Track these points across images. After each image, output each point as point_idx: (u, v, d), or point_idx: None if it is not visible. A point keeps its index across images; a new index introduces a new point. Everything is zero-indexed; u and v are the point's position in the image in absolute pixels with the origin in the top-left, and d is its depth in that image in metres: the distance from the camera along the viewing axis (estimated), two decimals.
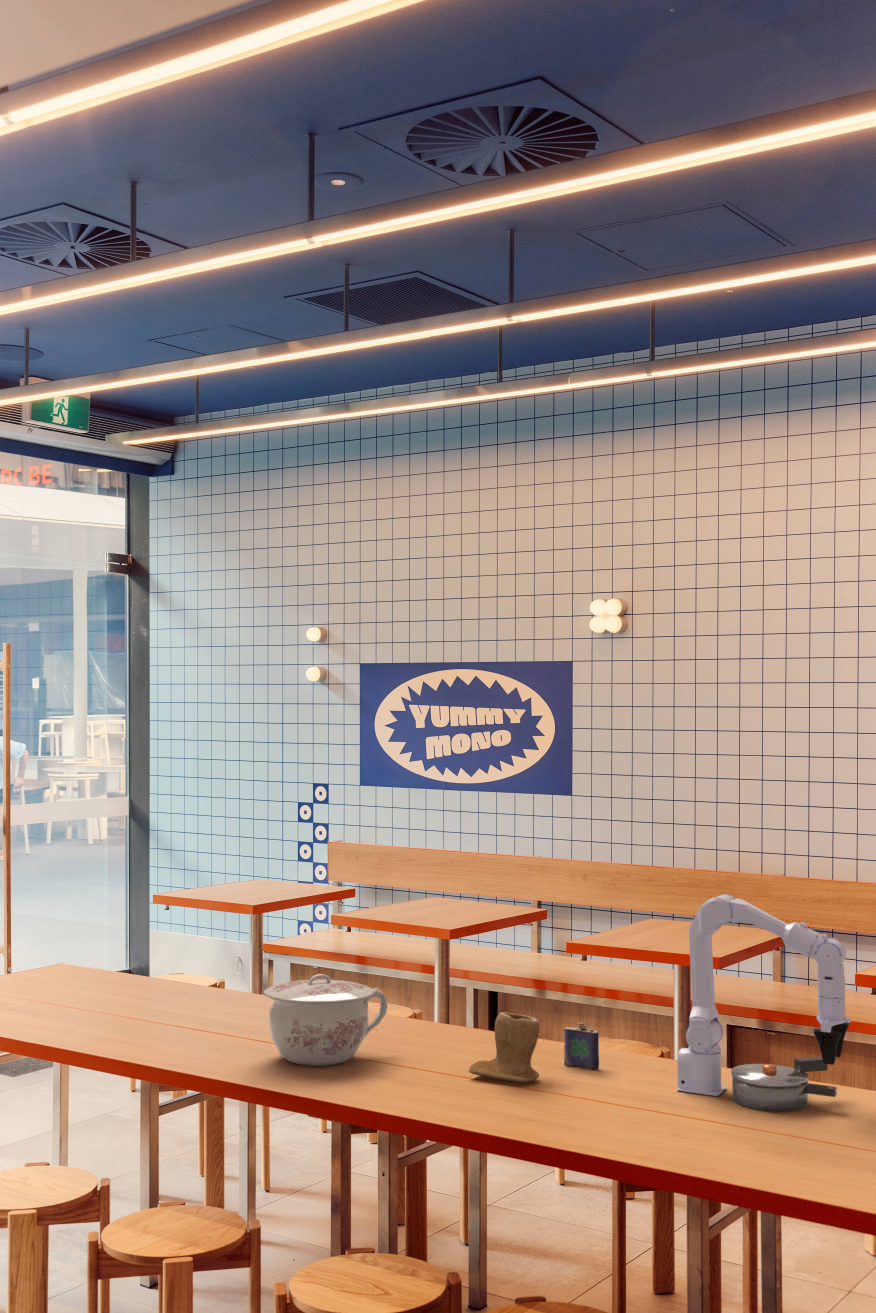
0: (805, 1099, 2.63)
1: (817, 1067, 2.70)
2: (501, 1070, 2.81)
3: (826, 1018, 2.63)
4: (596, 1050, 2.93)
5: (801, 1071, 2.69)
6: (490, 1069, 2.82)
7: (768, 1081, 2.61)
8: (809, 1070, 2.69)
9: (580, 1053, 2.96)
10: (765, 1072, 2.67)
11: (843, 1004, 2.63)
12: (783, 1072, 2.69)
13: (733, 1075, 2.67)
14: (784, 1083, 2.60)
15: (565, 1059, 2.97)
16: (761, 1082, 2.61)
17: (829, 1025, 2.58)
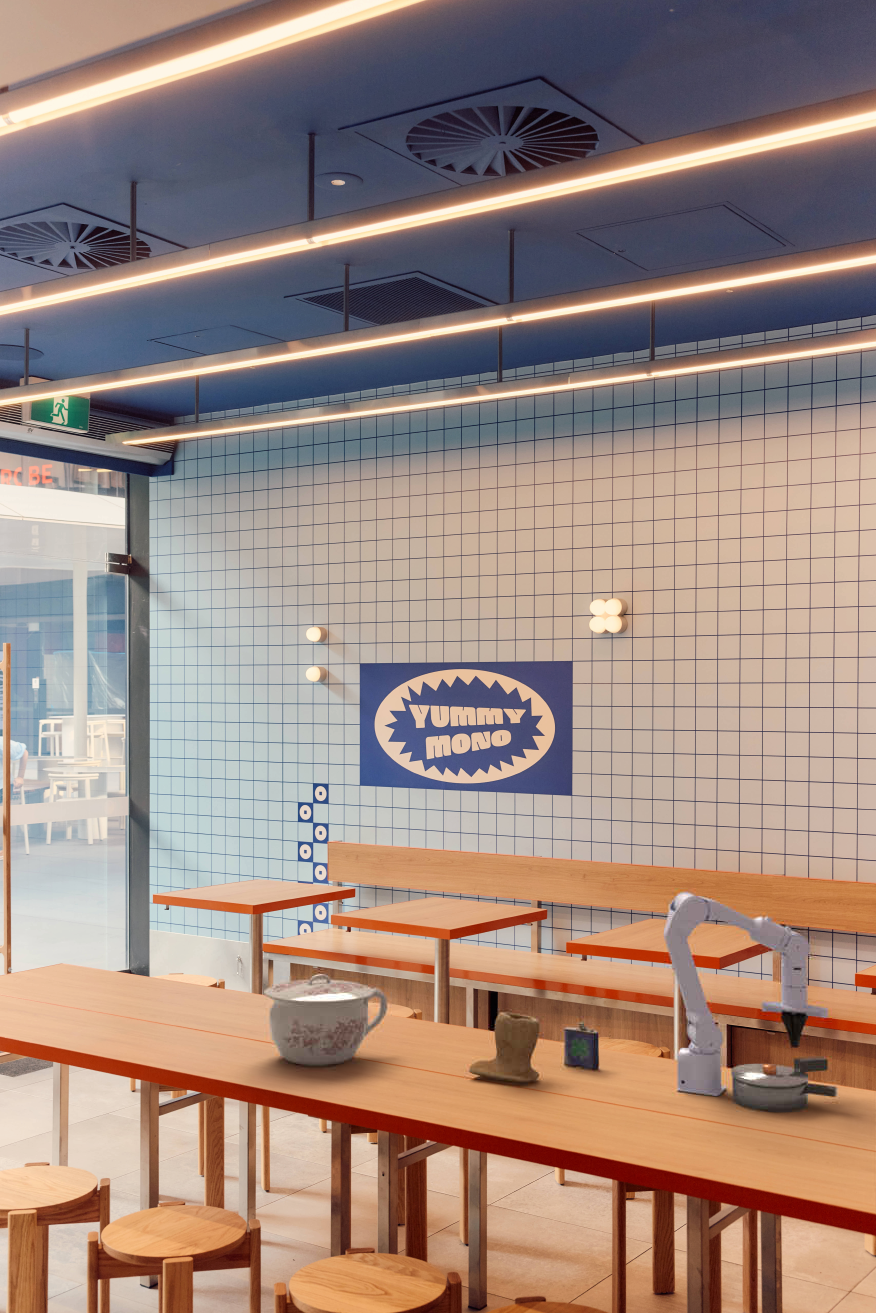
0: (805, 1099, 2.63)
1: (817, 1067, 2.70)
2: (501, 1070, 2.81)
3: None
4: (596, 1051, 2.93)
5: (801, 1071, 2.69)
6: (490, 1069, 2.82)
7: (768, 1081, 2.61)
8: (809, 1070, 2.69)
9: (580, 1053, 2.96)
10: (765, 1072, 2.67)
11: (787, 993, 2.76)
12: (783, 1072, 2.69)
13: (733, 1075, 2.67)
14: (784, 1083, 2.60)
15: (565, 1059, 2.97)
16: (761, 1082, 2.61)
17: (762, 1004, 2.81)
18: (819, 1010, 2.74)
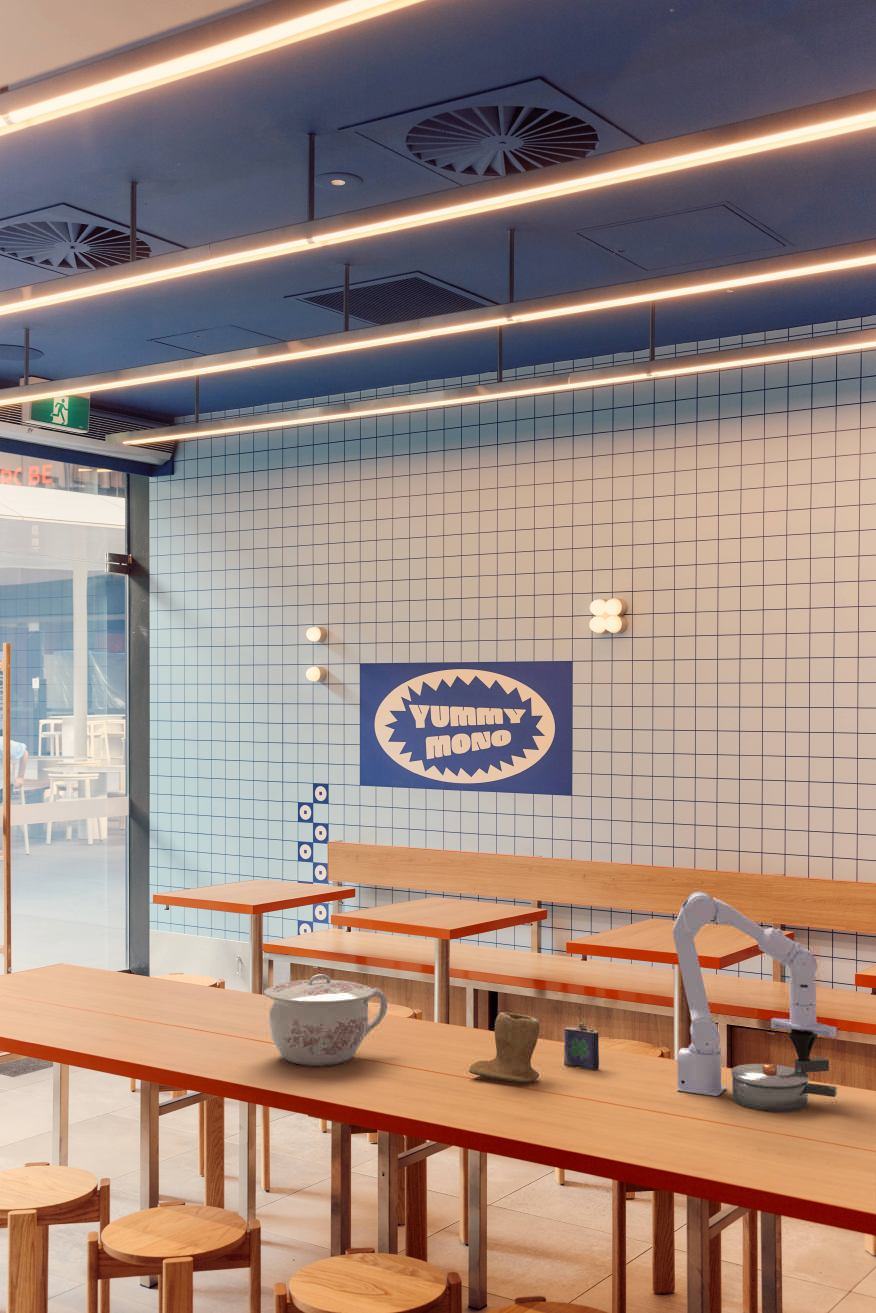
0: (805, 1099, 2.63)
1: (818, 1068, 2.70)
2: (501, 1070, 2.81)
3: None
4: (596, 1050, 2.93)
5: (802, 1071, 2.69)
6: (490, 1069, 2.82)
7: (767, 1081, 2.61)
8: (810, 1071, 2.69)
9: (580, 1053, 2.96)
10: (765, 1072, 2.67)
11: (794, 1010, 2.73)
12: (783, 1072, 2.68)
13: (733, 1075, 2.67)
14: (783, 1083, 2.60)
15: (565, 1059, 2.97)
16: (760, 1082, 2.61)
17: (771, 1021, 2.78)
18: (826, 1029, 2.69)
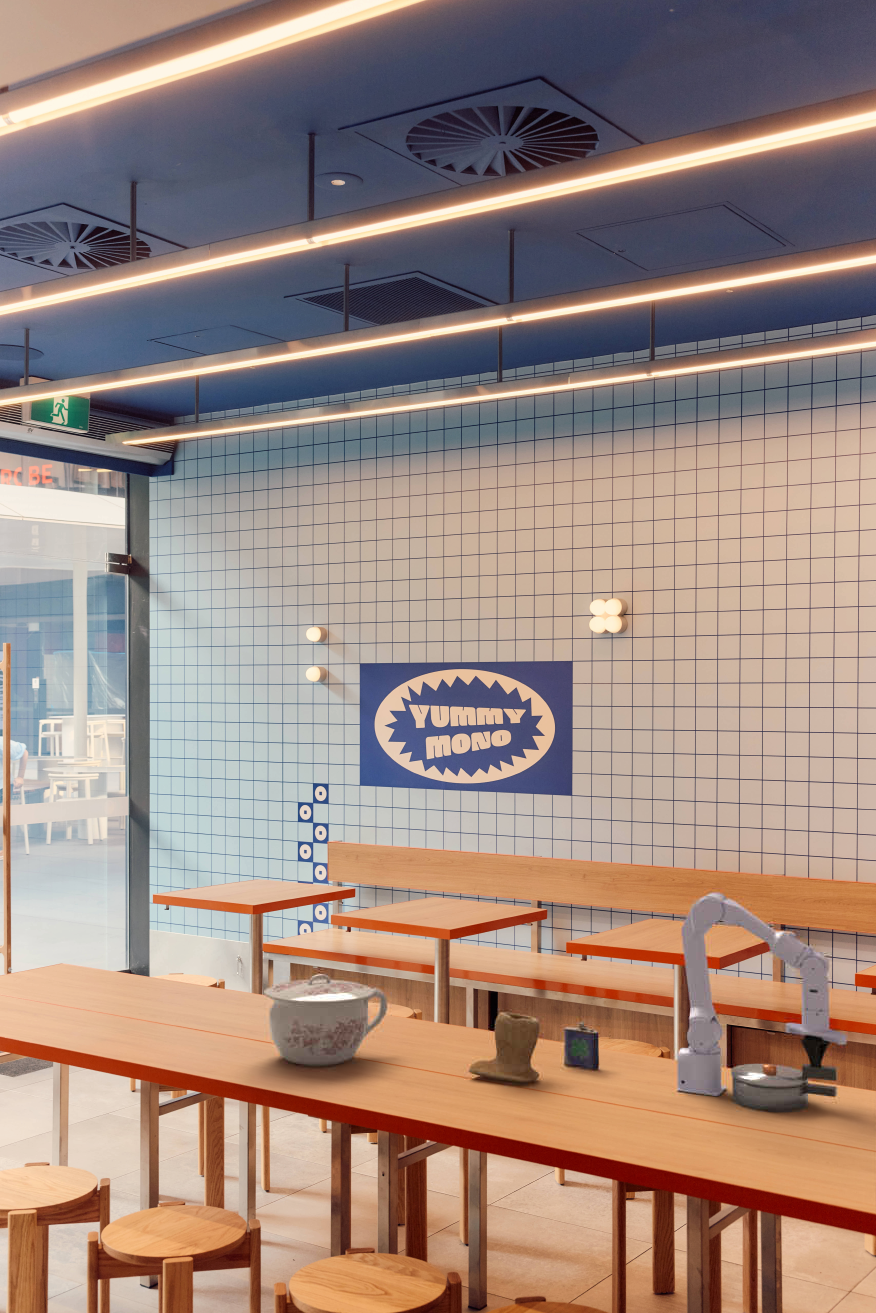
0: (805, 1099, 2.63)
1: (823, 1076, 2.63)
2: (501, 1070, 2.81)
3: None
4: (596, 1050, 2.93)
5: (803, 1076, 2.64)
6: (490, 1069, 2.82)
7: (746, 1077, 2.64)
8: (813, 1077, 2.64)
9: (580, 1053, 2.96)
10: (762, 1071, 2.68)
11: (804, 1015, 2.67)
12: (785, 1074, 2.66)
13: None
14: (759, 1081, 2.61)
15: (565, 1059, 2.97)
16: (739, 1077, 2.64)
17: (786, 1025, 2.73)
18: (835, 1036, 2.62)
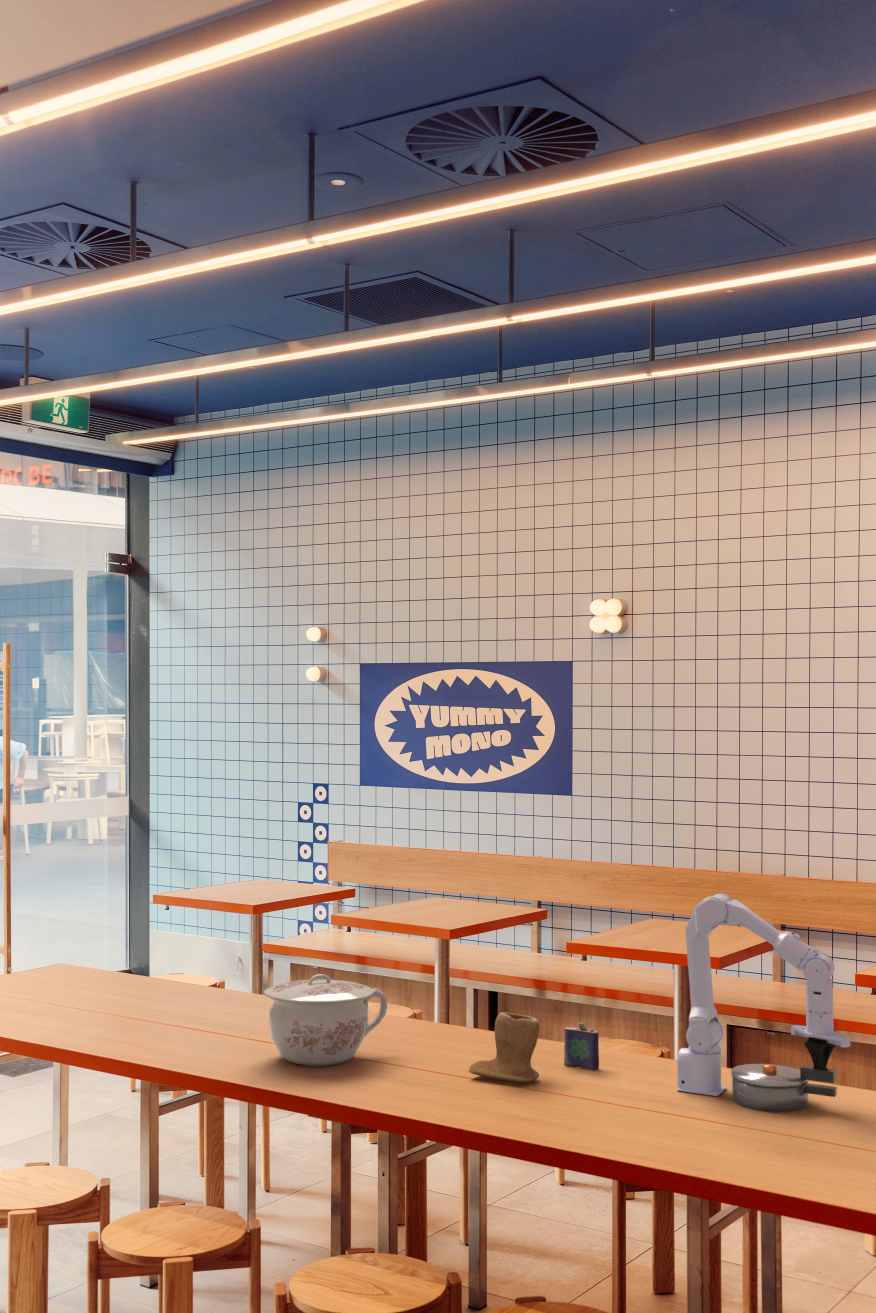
0: (805, 1099, 2.63)
1: (820, 1078, 2.61)
2: (501, 1070, 2.81)
3: None
4: (596, 1050, 2.93)
5: (801, 1078, 2.63)
6: (490, 1069, 2.82)
7: (742, 1076, 2.65)
8: (811, 1079, 2.62)
9: (580, 1053, 2.96)
10: (762, 1071, 2.68)
11: (808, 1017, 2.65)
12: (784, 1075, 2.66)
13: None
14: (752, 1080, 2.62)
15: (565, 1059, 2.97)
16: (736, 1076, 2.66)
17: (791, 1027, 2.71)
18: (838, 1038, 2.60)
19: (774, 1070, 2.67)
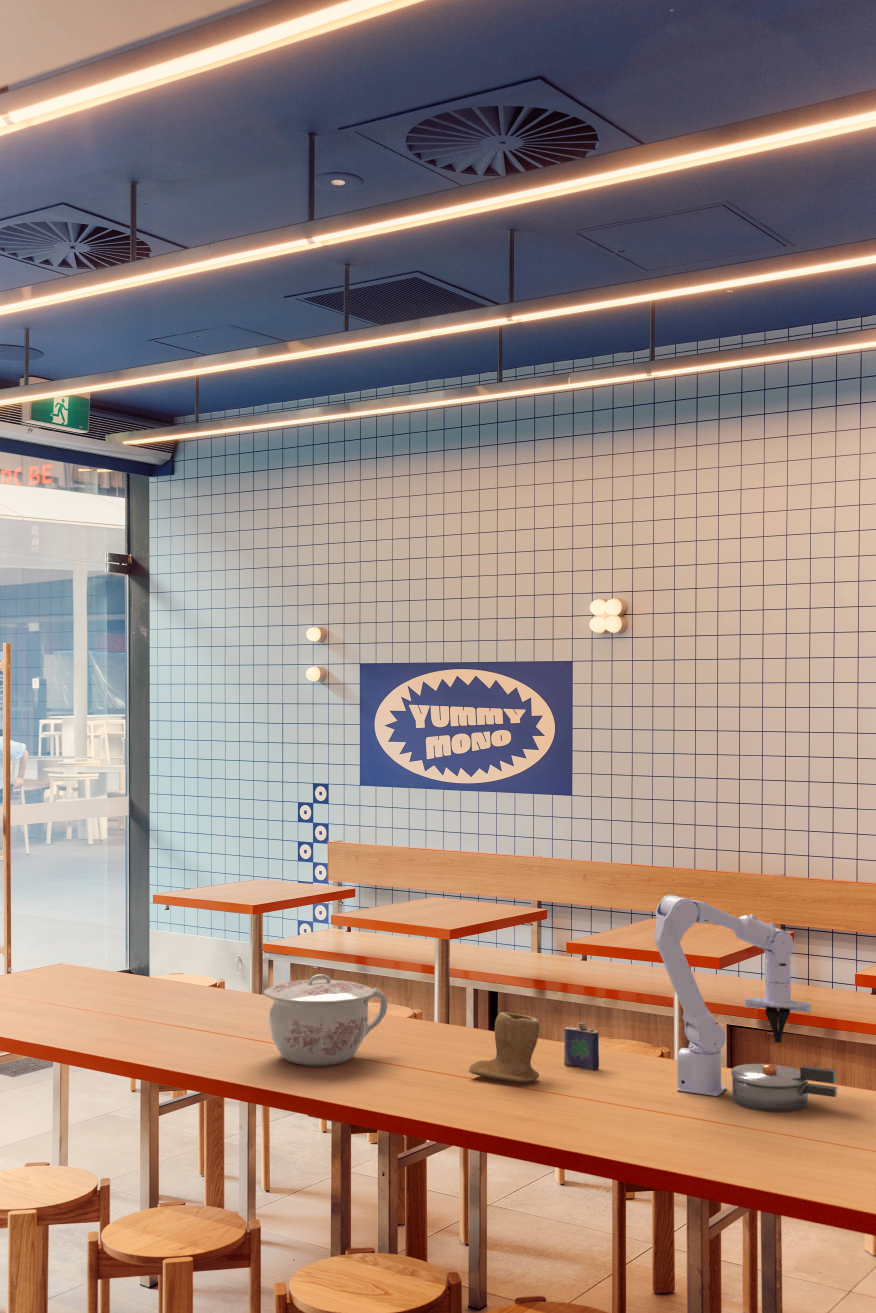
0: (805, 1099, 2.63)
1: (820, 1078, 2.61)
2: (501, 1070, 2.81)
3: None
4: (596, 1050, 2.93)
5: (801, 1078, 2.63)
6: (490, 1069, 2.82)
7: (742, 1076, 2.65)
8: (811, 1079, 2.62)
9: (580, 1053, 2.96)
10: (762, 1071, 2.68)
11: (772, 989, 2.79)
12: (784, 1075, 2.66)
13: None
14: (752, 1080, 2.62)
15: (565, 1059, 2.97)
16: (736, 1076, 2.66)
17: (745, 1001, 2.82)
18: (803, 1005, 2.78)
19: (774, 1070, 2.67)
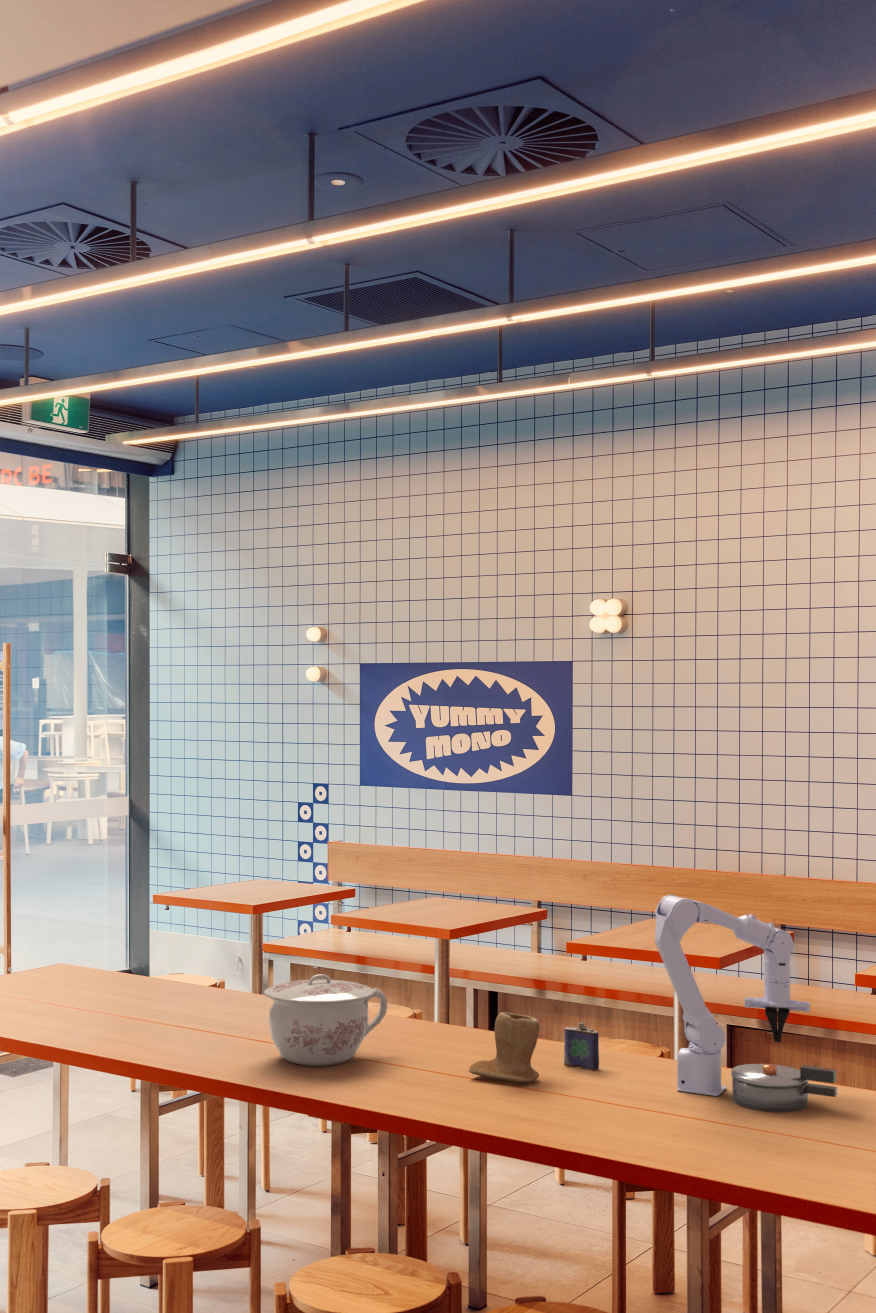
0: (805, 1099, 2.63)
1: (820, 1078, 2.61)
2: (501, 1070, 2.81)
3: (764, 998, 2.82)
4: (596, 1050, 2.93)
5: (801, 1078, 2.63)
6: (490, 1069, 2.82)
7: (742, 1076, 2.65)
8: (811, 1079, 2.62)
9: (580, 1053, 2.96)
10: (762, 1071, 2.68)
11: (772, 988, 2.79)
12: (784, 1075, 2.66)
13: None
14: (752, 1080, 2.62)
15: (565, 1059, 2.97)
16: (736, 1076, 2.66)
17: (745, 1000, 2.83)
18: (803, 1005, 2.78)
19: (774, 1070, 2.67)
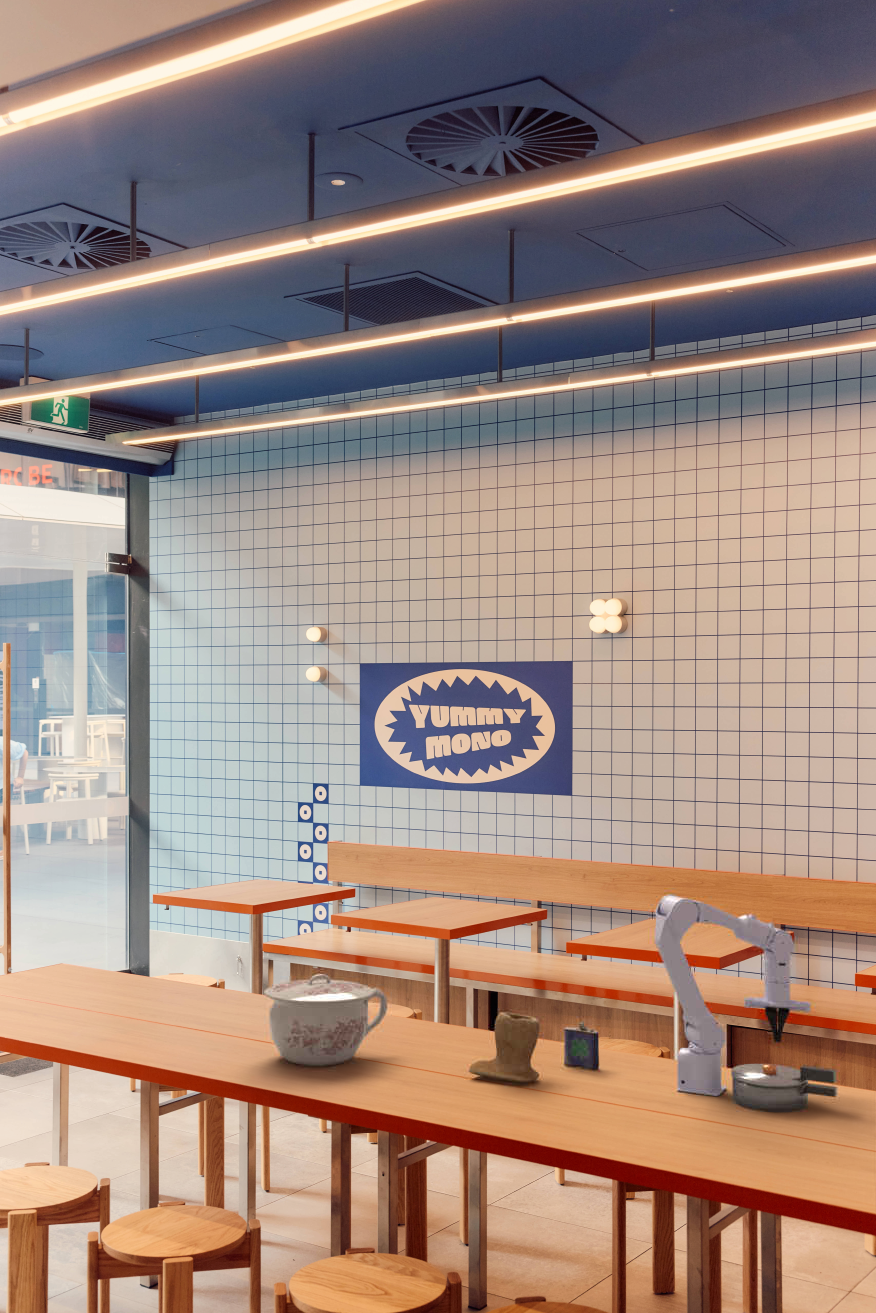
0: (805, 1099, 2.63)
1: (820, 1078, 2.61)
2: (501, 1070, 2.81)
3: (764, 998, 2.82)
4: (596, 1050, 2.93)
5: (801, 1078, 2.63)
6: (490, 1069, 2.82)
7: (742, 1076, 2.65)
8: (811, 1079, 2.62)
9: (580, 1053, 2.96)
10: (762, 1071, 2.68)
11: (772, 988, 2.79)
12: (784, 1075, 2.66)
13: None
14: (752, 1080, 2.62)
15: (565, 1059, 2.97)
16: (736, 1076, 2.66)
17: (745, 1000, 2.83)
18: (803, 1005, 2.78)
19: (774, 1070, 2.67)
